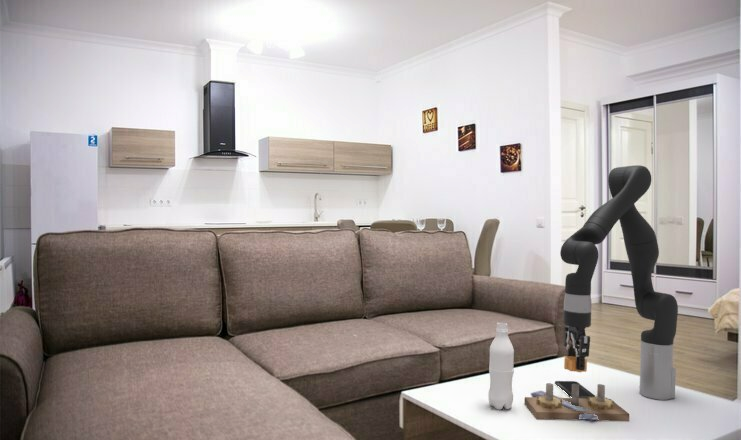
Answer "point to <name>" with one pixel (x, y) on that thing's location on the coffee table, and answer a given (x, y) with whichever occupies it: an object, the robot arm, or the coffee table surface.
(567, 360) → the gear
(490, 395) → the water bottle
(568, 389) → the phone
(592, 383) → the coffee table surface
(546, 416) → the gear board
